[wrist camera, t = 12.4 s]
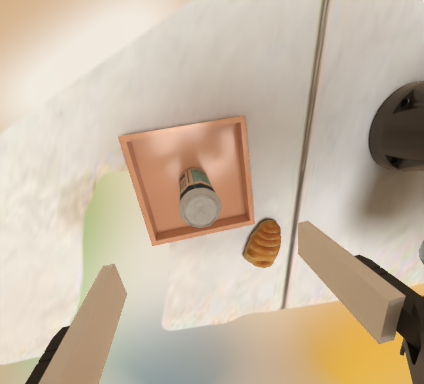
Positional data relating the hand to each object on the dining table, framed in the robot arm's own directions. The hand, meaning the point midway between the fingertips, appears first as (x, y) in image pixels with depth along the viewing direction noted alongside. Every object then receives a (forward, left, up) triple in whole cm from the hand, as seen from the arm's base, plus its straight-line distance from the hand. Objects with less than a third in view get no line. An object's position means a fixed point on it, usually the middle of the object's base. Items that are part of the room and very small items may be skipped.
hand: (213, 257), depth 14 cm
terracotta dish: (0, 0, -21) cm, 21 cm away
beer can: (0, 0, -20) cm, 20 cm away
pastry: (-11, +15, -21) cm, 28 cm away
